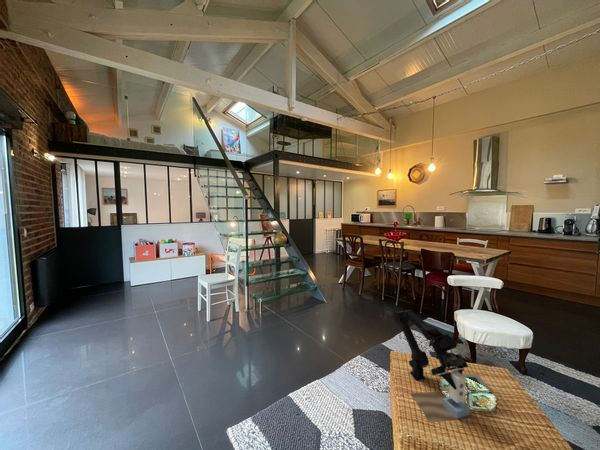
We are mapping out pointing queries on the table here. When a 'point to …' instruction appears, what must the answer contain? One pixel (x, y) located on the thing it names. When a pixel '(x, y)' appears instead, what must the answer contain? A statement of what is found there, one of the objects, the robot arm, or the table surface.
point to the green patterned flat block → (475, 379)
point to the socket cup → (456, 408)
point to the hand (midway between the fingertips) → (459, 388)
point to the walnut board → (434, 406)
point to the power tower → (460, 385)
